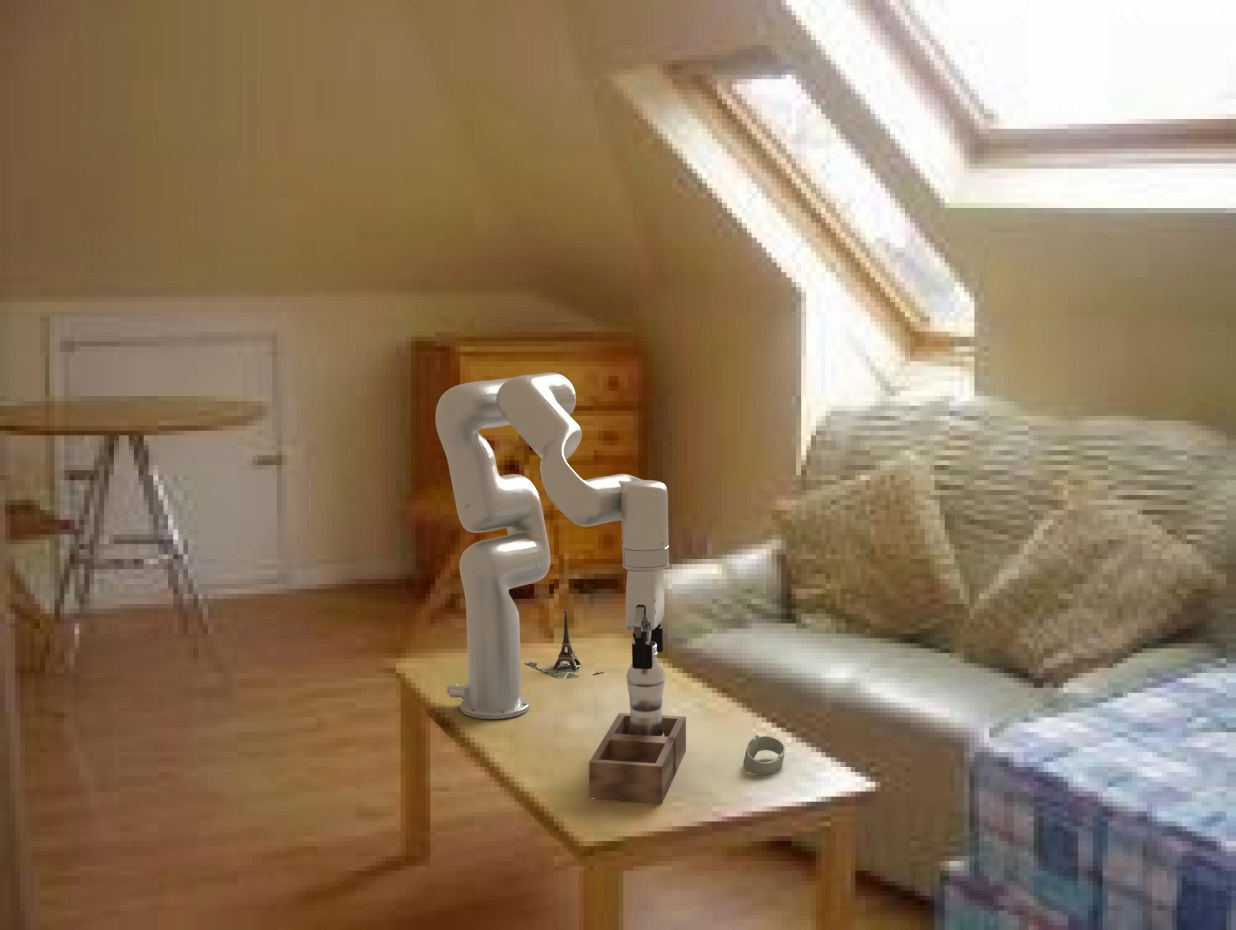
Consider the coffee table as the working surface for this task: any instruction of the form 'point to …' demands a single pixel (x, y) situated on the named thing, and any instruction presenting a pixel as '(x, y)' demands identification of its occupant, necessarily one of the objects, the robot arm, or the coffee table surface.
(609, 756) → the bottle rack
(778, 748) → the wristwatch
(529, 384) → the robot arm
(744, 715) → the coffee table surface
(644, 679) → the plastic bottle
